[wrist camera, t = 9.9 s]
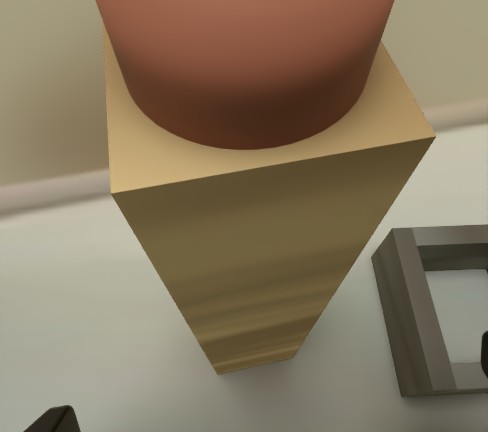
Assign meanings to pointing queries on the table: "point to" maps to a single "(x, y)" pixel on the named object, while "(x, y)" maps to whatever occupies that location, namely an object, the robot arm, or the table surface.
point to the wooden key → (255, 156)
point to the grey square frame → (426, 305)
